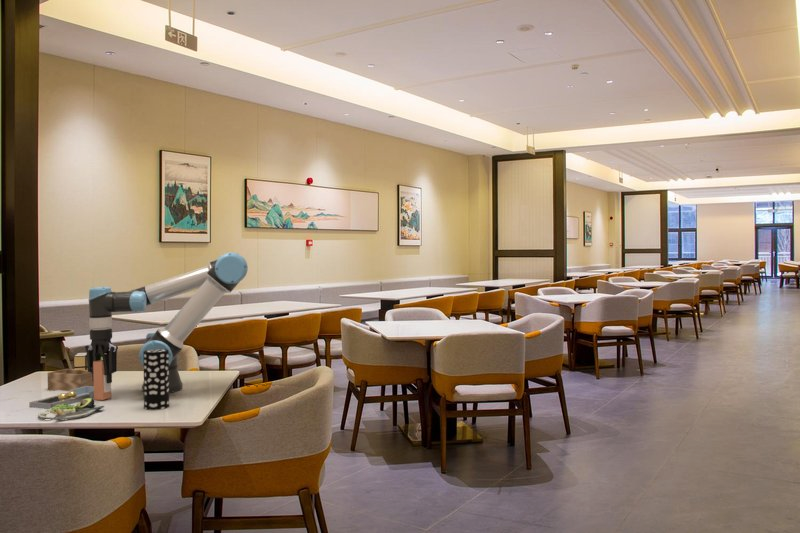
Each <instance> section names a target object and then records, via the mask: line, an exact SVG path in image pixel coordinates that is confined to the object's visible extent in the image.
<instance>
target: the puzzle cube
mask: <svg viewBox="0 0 800 533" xmlns="http://www.w3.org/2000/svg"><path fill="white" fill-rule="evenodd" d="M72 357H73V369H76V370H87V352H78V353H76V354H75V355H74V356H72ZM101 360H103V359H102V357H101Z"/></svg>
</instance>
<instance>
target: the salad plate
mask: <svg viewBox="0 0 800 533" xmlns="http://www.w3.org/2000/svg"><path fill="white" fill-rule="evenodd" d="M94 400H95V399H94V398H86V399H84V400H82V401H80V402H77V404H65V403H64V404H61V405H56V406H55V407H52V408H50V409H45V411H42V412H40V413H38V415H37V417H38V418H40V419H41V420H44V419H51V420H59V419H69V420H75V418H76V419H81V418H85V417H88V416H90V415H93V414H95V413H96V412H98V411H99V410H101V409H103V408H104V407H105V405H101V406H100V405H98V404H95V401H94ZM48 414H56V415H57V416H56V415H55V416H47V415H48Z"/></svg>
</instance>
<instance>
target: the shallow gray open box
mask: <svg viewBox="0 0 800 533" xmlns="http://www.w3.org/2000/svg"><path fill="white" fill-rule="evenodd" d="M68 393H69V392H67V393H65V394H68ZM59 395H60V394H58V395H54V396H50V397H46V398H41V399H38V400H34V401H30V402H29V406H28V407H29V408H36V409H44V410H48V409H50V408H52V407H55V406H56V405H61V404H64V403H65V404H68V405H73V404H75V403H80V401H82V400H84V399H86V398H90V394H85V395H81V396H77V397H73V398H69V399H65V400H61V401H59V400H58V396H59Z"/></svg>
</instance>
